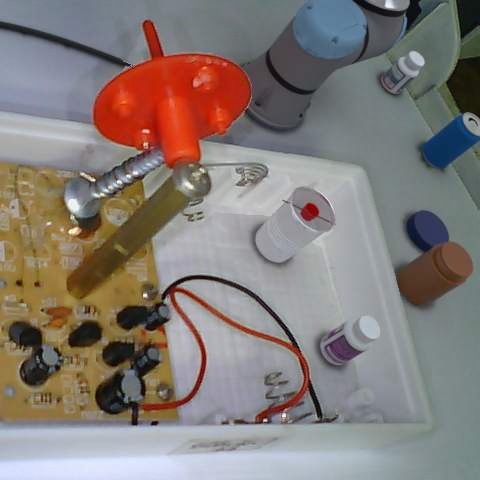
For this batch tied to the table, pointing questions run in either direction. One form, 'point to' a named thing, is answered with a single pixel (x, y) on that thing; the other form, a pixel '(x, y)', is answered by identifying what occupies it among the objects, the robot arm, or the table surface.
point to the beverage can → (452, 140)
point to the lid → (426, 230)
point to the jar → (435, 273)
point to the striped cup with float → (295, 224)
